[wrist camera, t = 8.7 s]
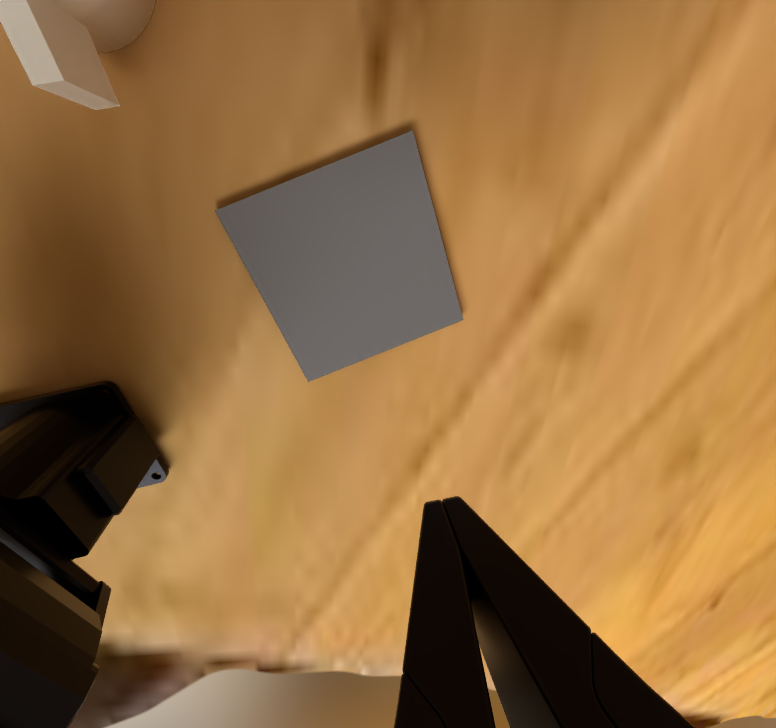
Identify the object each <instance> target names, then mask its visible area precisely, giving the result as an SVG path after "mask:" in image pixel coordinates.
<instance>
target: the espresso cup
mask: <svg viewBox="0 0 776 728" xmlns="http://www.w3.org/2000/svg"><path fill="white" fill-rule="evenodd" d="M155 3H156V0H0V22H1V24H2V26H3V28H4V30H5V32H6V34H7V36H8V38H9V40H10V42H11V44H12V46H13V48H14V50H15V52H16V54H17V56H18V58H19V60H20V62H21V64H22V66H23V68H24V69H25V71H26V73H27V75H28V77H29V79H30V81H31V83H32V85H33V86H35V87H38V88H40V89H43V90H45V91H48V92H50V93H53V94H55V95H58V96H61V97H63V98H66V99H68V100H71V101H73V102H76V103H78V104H81V105H83V106H86V107H89V108H91V109H94V110H101V109H107V108H113V107H119V106H120V105H119V102H118V100H117V98H116V95H115V93H114V90H113V88H112V86H111V83H110V81H109V79H108V76H107V74H106V72H105V69H104V67H103V65H102V62H101V60H100V57H99V55H98V53H107V52H112V51H116V50H118V49H121V48H123V47H125V46H127V45H128V44H130V43H131V42H133V41H134V40H135V39H136V38H137V37H138V36H139V35H140V34H141V33H142V32H143V30H144V29H145V27H146V26H147V24H148V22H149V20H150V18H151V16H152V13H153V10H154V6H155Z"/></svg>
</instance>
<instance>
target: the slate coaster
mask: <svg viewBox="0 0 776 728" xmlns="http://www.w3.org/2000/svg"><path fill="white" fill-rule="evenodd" d="M215 212H216V214H217V216H218V217H219V219H220V221H221V223H222V225H223V227H224V228H225V230H226V232H227V234H228V236H229V238H230V239H231V241H232V243H233V245H234V247H235V249H236V250H237V252H238V254H239V256H240V258H241V259H242V261H243V263H244V265H245V267H246V269H247V270H248V272H249V274H250V276H251V278H252V280H253V281H254V283H255V285H256V287H257V289H258V291H259V292H260V294H261V296H262V298H263V300H264V302H265V303H266V305H267V307H268V309H269V311H270V313H271V314H272V316H273V318H274V320H275V322H276V324H277V325H278V327H279V329H280V331H281V333H282V334H283V336H284V338H285V340H286V342H287V344H288V345H289V347H290V349H291V351H292V353H293V355H294V356H295V358H296V360H297V362H298V364H299V366H300V367H301V369H302V371H303V373H304V375H305V377H306V378H307V380H308V382H309V381H312V380H314V379H317V378H319V377H322V376H324V375H327V374H329V373H332V372H334V371H337V370H339V369H342V368H344V367H347V366H349V365H352V364H354V363H357V362H359V361H362V360H364V359H367V358H369V357H372V356H374V355H377V354H379V353H382V352H384V351H387V350H389V349H392V348H394V347H397V346H399V345H402V344H404V343H407V342H409V341H412V340H414V339H417V338H419V337H422V336H424V335H427V334H429V333H432V332H434V331H437V330H439V329H442V328H444V327H447V326H449V325H452V324H454V323H457V322H459V321H462V320H463V316H462V313H461V309H460V305H459V302H458V298H457V294H456V290H455V287H454V283H453V279H452V275H451V272H450V268H449V264H448V260H447V257H446V253H445V249H444V245H443V242H442V238H441V234H440V230H439V227H438V223H437V219H436V215H435V212H434V208H433V204H432V200H431V197H430V193H429V189H428V186H427V182H426V178H425V174H424V171H423V167H422V163H421V159H420V156H419V152H418V148H417V144H416V141H415V137H414V133H413V130H412V131H410V132H407V133H405V134H402V135H400V136H397V137H395V138H393V139H390V140H388V141H385V142H383V143H380V144H378V145H375V146H373V147H370V148H368V149H365V150H363V151H361V152H358V153H356V154H353V155H351V156H348V157H346V158H343V159H341V160H338V161H336V162H333V163H331V164H329V165H326V166H324V167H321V168H319V169H316V170H314V171H311V172H309V173H306V174H304V175H301V176H299V177H297V178H294V179H292V180H289V181H287V182H284V183H282V184H279V185H277V186H274V187H272V188H269V189H267V190H265V191H262V192H260V193H257V194H255V195H252V196H250V197H247V198H245V199H242V200H240V201H237V202H235V203H232V204H230V205H228V206H225V207H223V208H220V209H218V210H215Z"/></svg>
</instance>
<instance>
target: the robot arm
mask: <svg viewBox="0 0 776 728" xmlns="http://www.w3.org/2000/svg"><path fill="white" fill-rule="evenodd" d="M102 389H104V390H107V391H108V392H109V394H106V393H104V392H103V390H102ZM156 473H159V474H160V475H158V474H156ZM168 474H169V470H168V468H167V466H166V465H165V463H164V461H163V460H162V458H161V456H160V455H159V452H158V450H157V448H156V447H155V445H154V443H153V442H152V440H151V438H150V437H149V435H148V433H147V432H146V430H145V429H144V427H143V425H142V424H141V422H140V420H139V419H138V418H137V417H136V415H135V414H134V412H133V410H132V409H131V407H130V406H129V404H128V402H127V401H126V399H125V397H124V396H123V394H122V392H121V391H120V389H119V388H118V386H117V385H116V384H114V383H112V382H109V381H102V382H97V383H93V384H88V385H83V386H79V387H74V388H70V389H65V390H61V391H56V392H52V393H47V394H42V395H38V396H33V397H29V398H24V399H20V400H15V401H11V402H6V403H1V404H0V728H68V727H69V725H70V724H71V722H72V720H73V719H74V717H75V716H76V714H77V712H78V711H79V709H80V708H81V706H82V704H83V703H84V701H85V699H86V697H87V695H88V693H89V691H90V689H91V687H92V685H93V683H94V681H95V679H96V676H97V673H98V670H99V668H98V665H96V664H95V663H94V660H95V658H96V654H97V650H98V646H99V642H100V638H101V634H102V626H103V622H104V618H105V614H106V609H107V605H108V601H109V597H110V592H111V588H110V587H109V586H108V585H106V584H105V583H104V582H103V581H100V582H98V581H97V580H95V579H94V578H93V577H92V576H91V575H89V574H88V573H87V572H86V571H84V570H83V569H82V568H81V567H79V566H78V565H77V564H76V563H74V562H73V559H75V558H79V557H83V556H86V555H88V554H89V552H90V551H91V549H92V548H93V546H94V545H95V543H96V542H97V540H98V539H99V537H100V536H101V534H102V533H103V531H104V530H105V528H106V527H107V525H108V524H109V522H110V521H111V519H112V518H113V516H114V515H119V514H120V513H121V512H122V510H123V509H124V507H125V506H126V504H127V503H128V501H129V500H130V498H131V497H132V495H133V493H134V492H135V490H136V489H137V488H140V487H144V486H149V485H153V484H157V483H161V482H163V481H164V480H165V479H166V478H167V476H168ZM479 645H480V647H479ZM480 648H481V650H482V653H483V656H484V659H485V661H486V664H487V667H488V669H489V672H490V675H491V677H492V680H493V683H494V685H495V688H496V691H497V693H498V696H499V699H500V701H501V704H502V707H503V709H504V712H505V715H506V718H507V720H508V723H509V726H510V728H696V727H694V726H693V725H692V724H691V723H690V722H689V721H687V720H686V719H685V718H684V717H683V716H682V715H681V714H680V713H679V712H677V711H676V710H675V709H674V708H673V707H672V706H671V705H670V704H669V703H667V702H666V701H665V700H664V699H663V698H662V697H661V696H660V695H659V694H657V693H656V692H655V691H654V690H653V689H652V688H651V687H650V686H648V685H647V684H646V683H645V682H644V681H643V680H642V679H641V678H640V677H639V676H638V675H637V674H636V673H635V672H634V671H633V670H632V669H631V668H630V667H629V666H628V665H627V664H626V663H625V662H624V661H623V660H622V659H621V658H620V657H619V656H617V655H616V654H615V653H614V652H613V651H612V650H611V649H610V648H609V646H608V645H607V644H606V643H605V642H604V641H603V640H602V639H601V638H600V637H599V636H598V635H597V634H596V633H591V629H590V628H589V627H588V625H587V624H586V623H585V622H584V621H583V620H582V619H581V618H580V617H579V616H578V615H577V614H576V613H575V612H574V611H573V610H572V609H571V608H570V607H569V606H568V605H567V604H566V603H565V602H564V601H563V600H562V599H561V598H560V597H559V596H558V595H557V594H556V593H555V592H554V591H553V590H552V589H551V588H550V587H549V586H548V585H547V584H546V583H545V582H544V581H543V580H542V579H541V578H540V577H539V576H538V575H537V574H536V573H535V572H534V571H533V570H532V569H531V568H530V567H529V566H528V565H527V564H526V563H525V562H524V561H523V560H522V559H521V558H520V557H519V556H518V555H517V554H516V553H515V552H514V551H513V550H512V549H511V548H510V547H509V546H508V545H507V544H506V543H505V542H504V541H503V540H502V539H501V538H500V537H499V536H498V535H497V534H496V533H495V532H494V531H493V530H492V529H491V528H490V527H489V526H488V525H487V524H486V523H485V522H484V521H483V520H482V519H481V518H480V517H479V516H478V514H477V513H476V512H475V511H474V510H473V509H472V508H471V507H470V506H469V505H468V504H467V503H466V502H465V501H464V500H463V499H462V498H460V497H458V496H455V497H450V498H445V499H443V500H442V501H441V500H435V501H430V502H426V503H425V504H424V508H423V516H422V524H421V531H420V539H419V547H418V554H417V562H416V570H415V577H414V585H413V593H412V600H411V608H410V616H409V623H408V631H407V639H406V646H405V654H404V662H403V674H402V676H401V683H400V690H399V699H398V705H397V711H396V718H395V724H394V728H496V727H495V723H494V717H493V712H492V707H491V702H490V697H489V693H488V687H487V682H486V677H485V672H484V667H483V662H482V657H481V652H480Z"/></svg>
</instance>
